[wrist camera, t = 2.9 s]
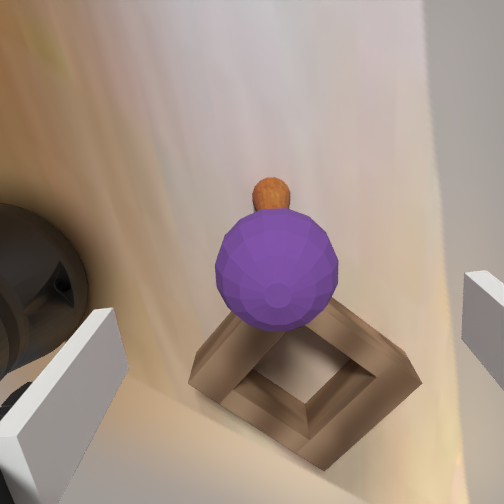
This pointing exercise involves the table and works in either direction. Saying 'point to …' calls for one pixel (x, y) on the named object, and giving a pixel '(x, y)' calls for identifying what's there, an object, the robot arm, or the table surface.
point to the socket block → (324, 401)
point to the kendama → (276, 264)
